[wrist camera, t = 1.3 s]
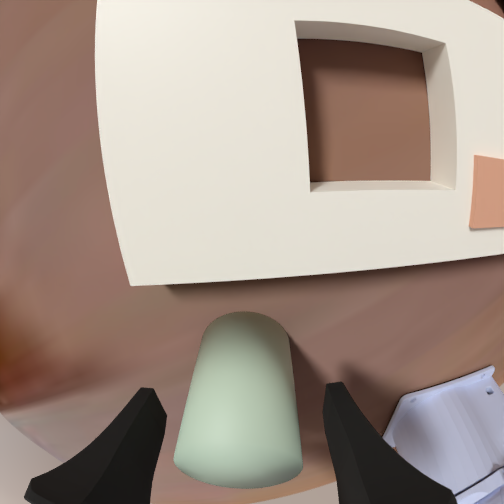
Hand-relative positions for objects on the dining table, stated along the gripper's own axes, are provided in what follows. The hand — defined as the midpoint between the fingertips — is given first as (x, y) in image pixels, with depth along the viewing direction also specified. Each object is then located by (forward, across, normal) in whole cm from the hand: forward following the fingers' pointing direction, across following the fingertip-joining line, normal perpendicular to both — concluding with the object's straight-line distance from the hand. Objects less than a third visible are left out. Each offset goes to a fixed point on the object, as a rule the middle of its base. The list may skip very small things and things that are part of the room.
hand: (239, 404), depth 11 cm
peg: (+4, 0, 0) cm, 4 cm away
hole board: (+4, -6, -11) cm, 13 cm away
